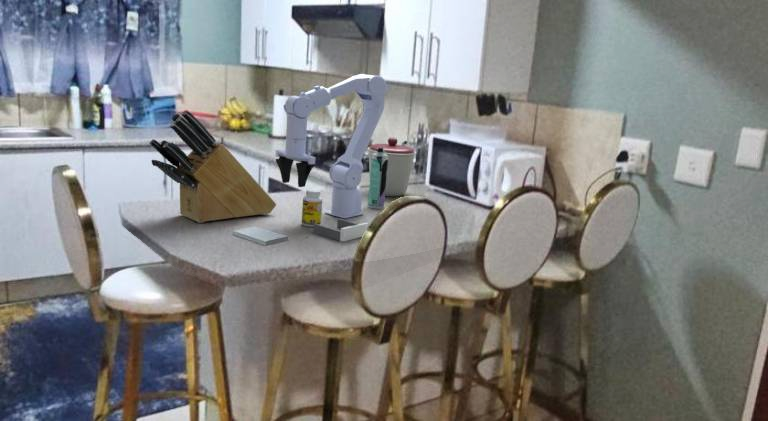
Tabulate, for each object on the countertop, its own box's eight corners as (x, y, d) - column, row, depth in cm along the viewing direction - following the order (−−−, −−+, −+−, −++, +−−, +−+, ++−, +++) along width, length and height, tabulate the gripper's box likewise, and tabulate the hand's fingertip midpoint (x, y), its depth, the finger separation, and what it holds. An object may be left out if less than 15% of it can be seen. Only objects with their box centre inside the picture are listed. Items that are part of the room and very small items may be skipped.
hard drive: (288, 236, 165) (256, 225, 172) (265, 241, 158) (232, 230, 165) (288, 242, 165) (255, 231, 172) (265, 247, 159) (232, 236, 166)
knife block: (146, 218, 173) (146, 106, 166) (256, 206, 197) (259, 107, 190) (165, 228, 165) (166, 110, 158) (276, 214, 190) (281, 111, 182)
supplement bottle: (297, 224, 180) (299, 189, 178) (309, 221, 185) (311, 187, 183) (313, 228, 178) (315, 193, 175) (324, 225, 182) (326, 190, 180)
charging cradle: (338, 226, 182) (339, 214, 181) (367, 235, 176) (368, 222, 175) (313, 232, 174) (313, 219, 173) (342, 241, 167) (343, 228, 166)
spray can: (386, 208, 210) (391, 149, 205) (371, 208, 207) (376, 148, 203) (380, 204, 214) (385, 146, 210) (365, 204, 212) (370, 146, 208)
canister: (386, 200, 221) (391, 141, 216) (353, 190, 234) (358, 134, 229) (422, 196, 233) (427, 140, 229) (389, 187, 246) (394, 133, 241)
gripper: (268, 135, 182) (266, 181, 185) (304, 142, 173) (301, 190, 176) (286, 134, 187) (284, 179, 190) (321, 141, 179) (318, 188, 182)
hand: (293, 184), depth 184 cm, fingers open, 6 cm apart
